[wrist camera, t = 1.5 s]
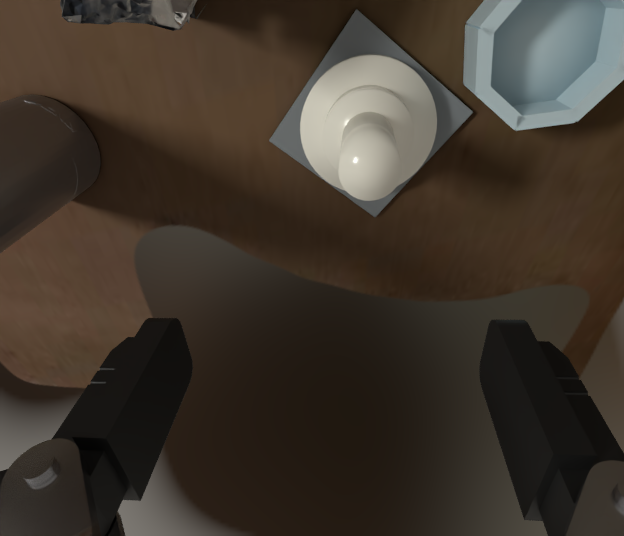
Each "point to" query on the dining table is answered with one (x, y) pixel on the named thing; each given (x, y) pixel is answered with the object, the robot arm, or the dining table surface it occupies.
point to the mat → (357, 41)
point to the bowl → (544, 58)
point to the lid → (368, 125)
